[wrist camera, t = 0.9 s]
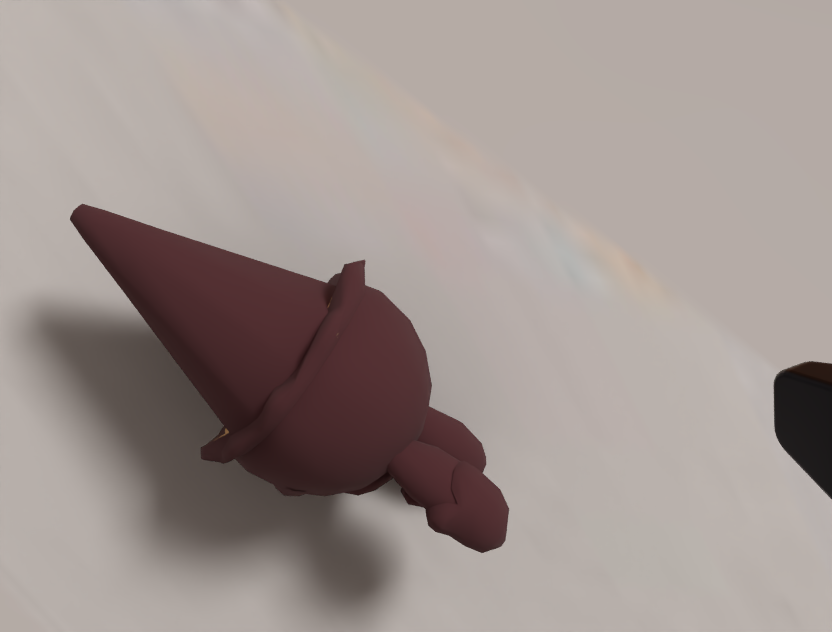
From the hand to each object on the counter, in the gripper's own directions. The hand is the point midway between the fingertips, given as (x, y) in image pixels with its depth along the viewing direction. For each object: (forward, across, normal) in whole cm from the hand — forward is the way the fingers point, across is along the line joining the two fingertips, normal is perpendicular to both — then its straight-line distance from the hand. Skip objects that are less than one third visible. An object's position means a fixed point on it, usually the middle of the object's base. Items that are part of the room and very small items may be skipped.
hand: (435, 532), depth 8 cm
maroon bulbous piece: (+16, +1, +5) cm, 17 cm away
